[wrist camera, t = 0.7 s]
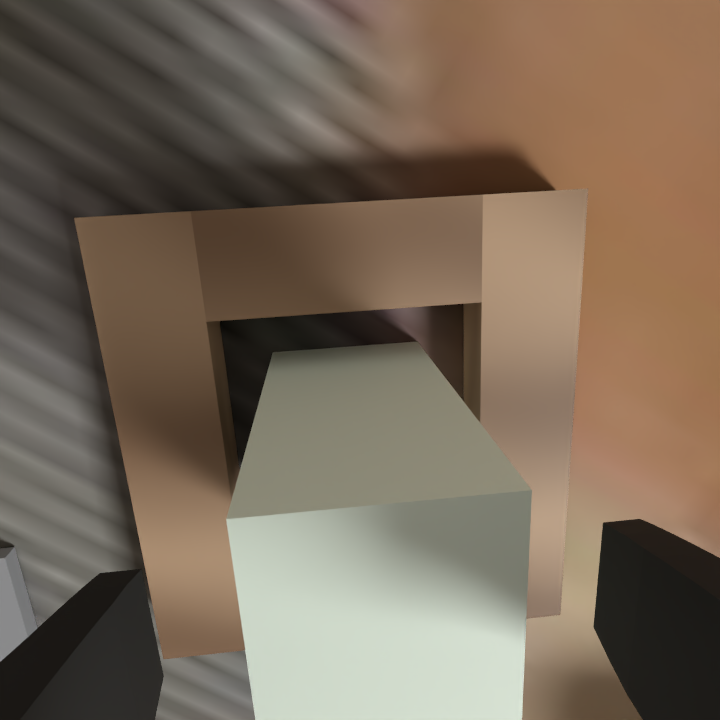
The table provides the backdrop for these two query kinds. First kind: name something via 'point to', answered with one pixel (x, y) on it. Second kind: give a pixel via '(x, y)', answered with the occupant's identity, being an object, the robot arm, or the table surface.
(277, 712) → the sage link block
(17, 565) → the charcoal mat
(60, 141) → the table surface
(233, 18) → the table surface
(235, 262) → the wooden square frame
